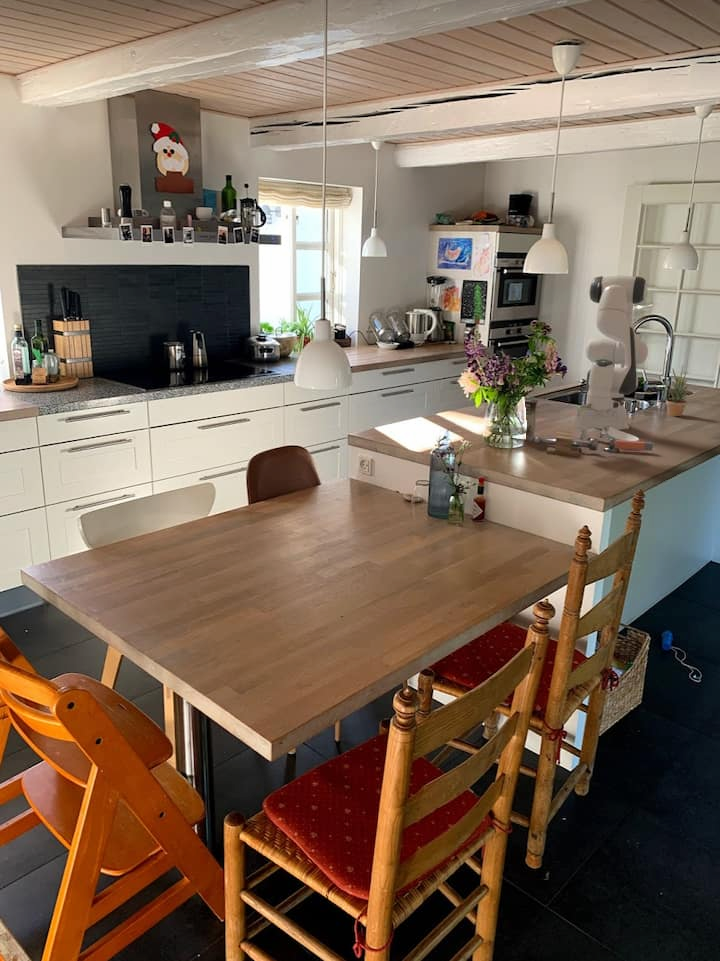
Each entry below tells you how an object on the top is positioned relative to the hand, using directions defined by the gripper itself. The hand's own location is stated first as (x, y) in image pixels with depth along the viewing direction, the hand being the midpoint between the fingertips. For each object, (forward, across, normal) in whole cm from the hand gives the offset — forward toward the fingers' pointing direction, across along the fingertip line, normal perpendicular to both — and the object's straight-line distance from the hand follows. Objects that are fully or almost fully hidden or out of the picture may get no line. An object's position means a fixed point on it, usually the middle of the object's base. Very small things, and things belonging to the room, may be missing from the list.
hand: (593, 438), depth 290 cm
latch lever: (+4, +17, -5) cm, 18 cm away
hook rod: (+4, -7, +8) cm, 11 cm away
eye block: (+6, -7, +8) cm, 12 cm away
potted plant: (+4, +91, +35) cm, 97 cm away
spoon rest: (+6, +20, +10) cm, 23 cm away
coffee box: (+6, -9, +30) cm, 32 cm away
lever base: (+6, +11, 0) cm, 12 cm away
